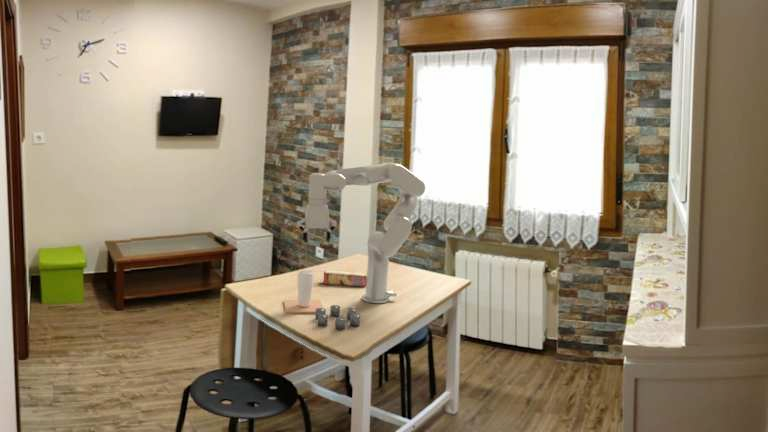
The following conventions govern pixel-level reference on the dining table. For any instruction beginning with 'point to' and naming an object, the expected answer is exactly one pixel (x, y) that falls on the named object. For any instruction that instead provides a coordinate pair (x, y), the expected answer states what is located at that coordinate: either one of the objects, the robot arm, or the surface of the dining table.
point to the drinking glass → (305, 287)
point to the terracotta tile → (293, 307)
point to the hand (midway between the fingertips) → (316, 240)
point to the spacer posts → (339, 321)
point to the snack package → (344, 278)
